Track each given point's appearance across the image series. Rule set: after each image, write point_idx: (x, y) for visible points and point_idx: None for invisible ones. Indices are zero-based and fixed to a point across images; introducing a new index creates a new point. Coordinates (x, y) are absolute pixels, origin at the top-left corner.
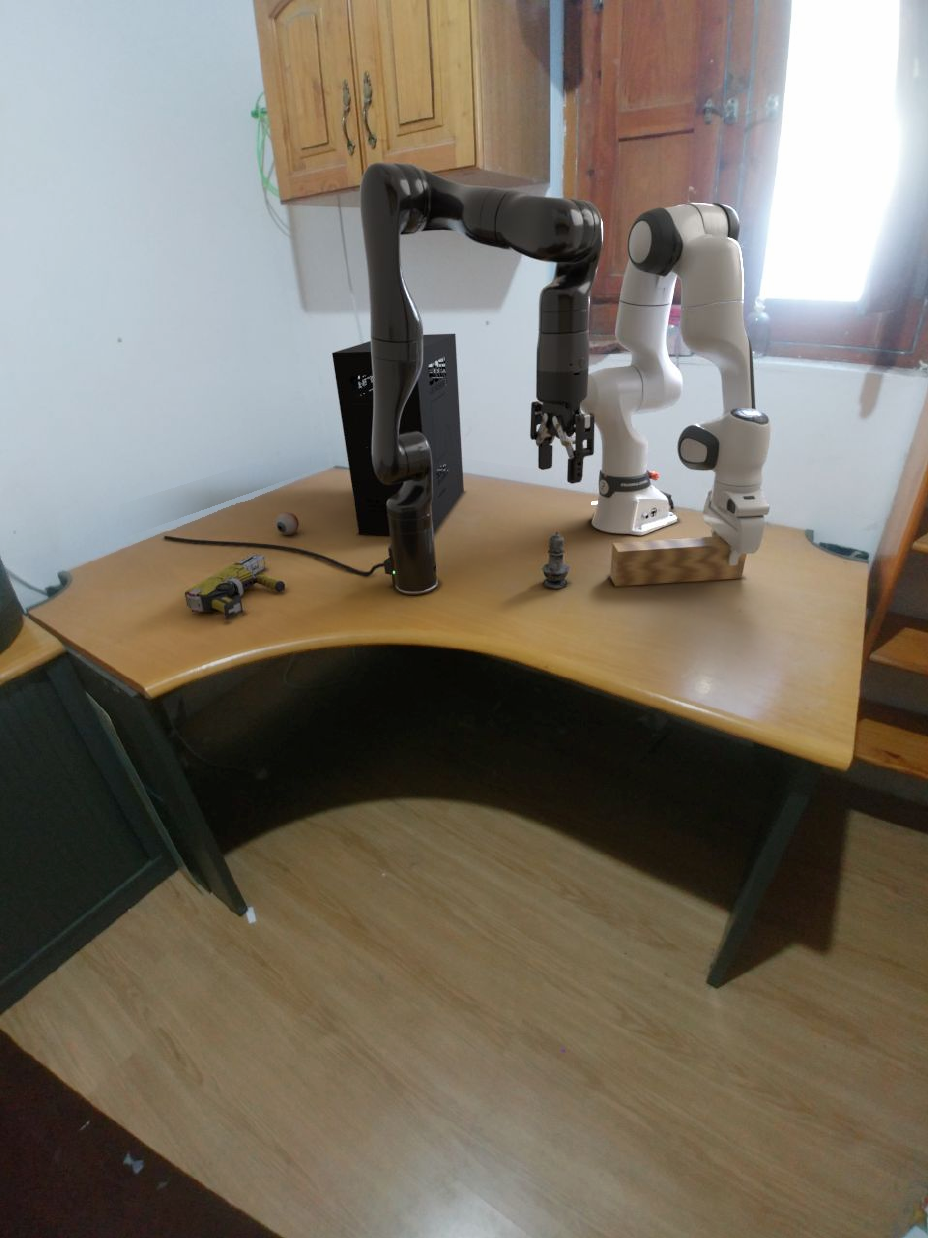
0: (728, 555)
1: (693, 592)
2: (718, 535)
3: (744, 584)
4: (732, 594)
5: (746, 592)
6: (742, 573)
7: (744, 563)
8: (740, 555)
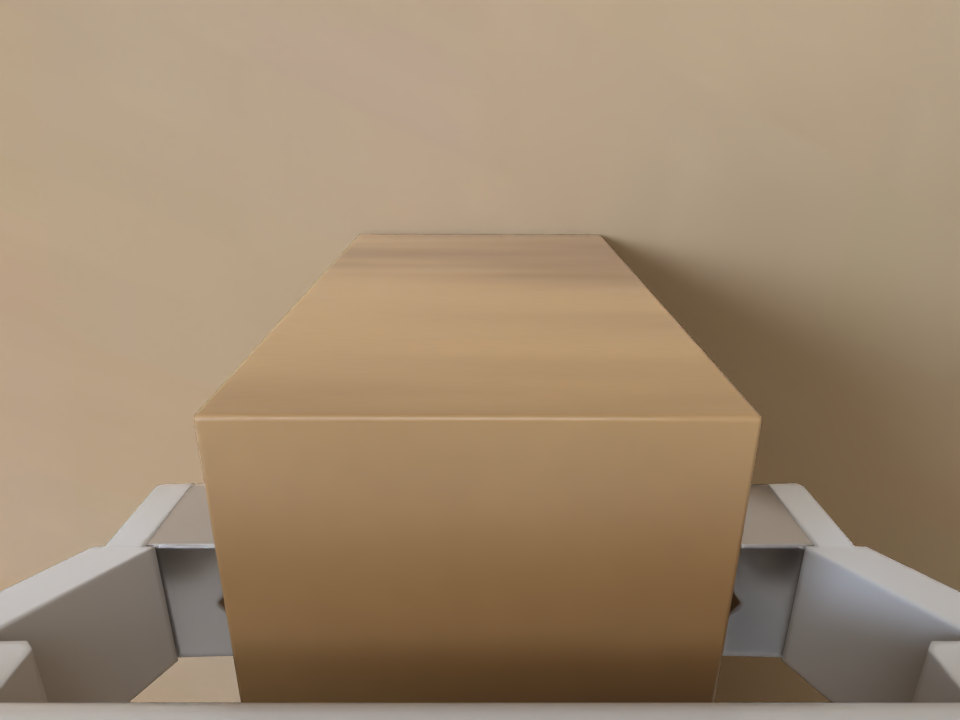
0: (739, 648)
1: (753, 701)
2: (69, 654)
3: (734, 263)
4: (887, 452)
5: (898, 318)
6: (610, 247)
7: (640, 281)
8: (920, 574)
